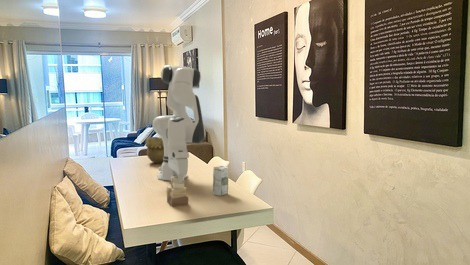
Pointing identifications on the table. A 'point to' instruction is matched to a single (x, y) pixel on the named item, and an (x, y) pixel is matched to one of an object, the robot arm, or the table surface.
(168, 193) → the oak slab
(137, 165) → the table surface
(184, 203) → the walnut slab
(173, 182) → the maple cube
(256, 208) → the table surface
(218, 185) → the syrup box
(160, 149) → the clay pot
